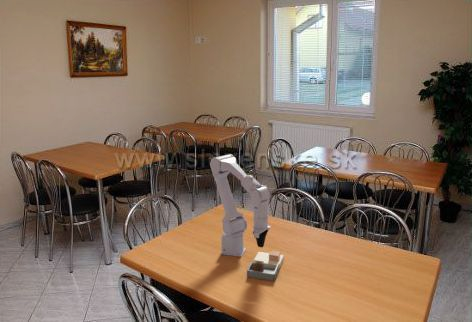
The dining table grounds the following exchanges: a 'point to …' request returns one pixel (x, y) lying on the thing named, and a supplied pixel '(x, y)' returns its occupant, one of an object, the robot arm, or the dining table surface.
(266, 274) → the grey box
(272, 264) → the white board
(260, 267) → the walnut block
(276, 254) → the terracotta tile
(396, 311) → the dining table surface
